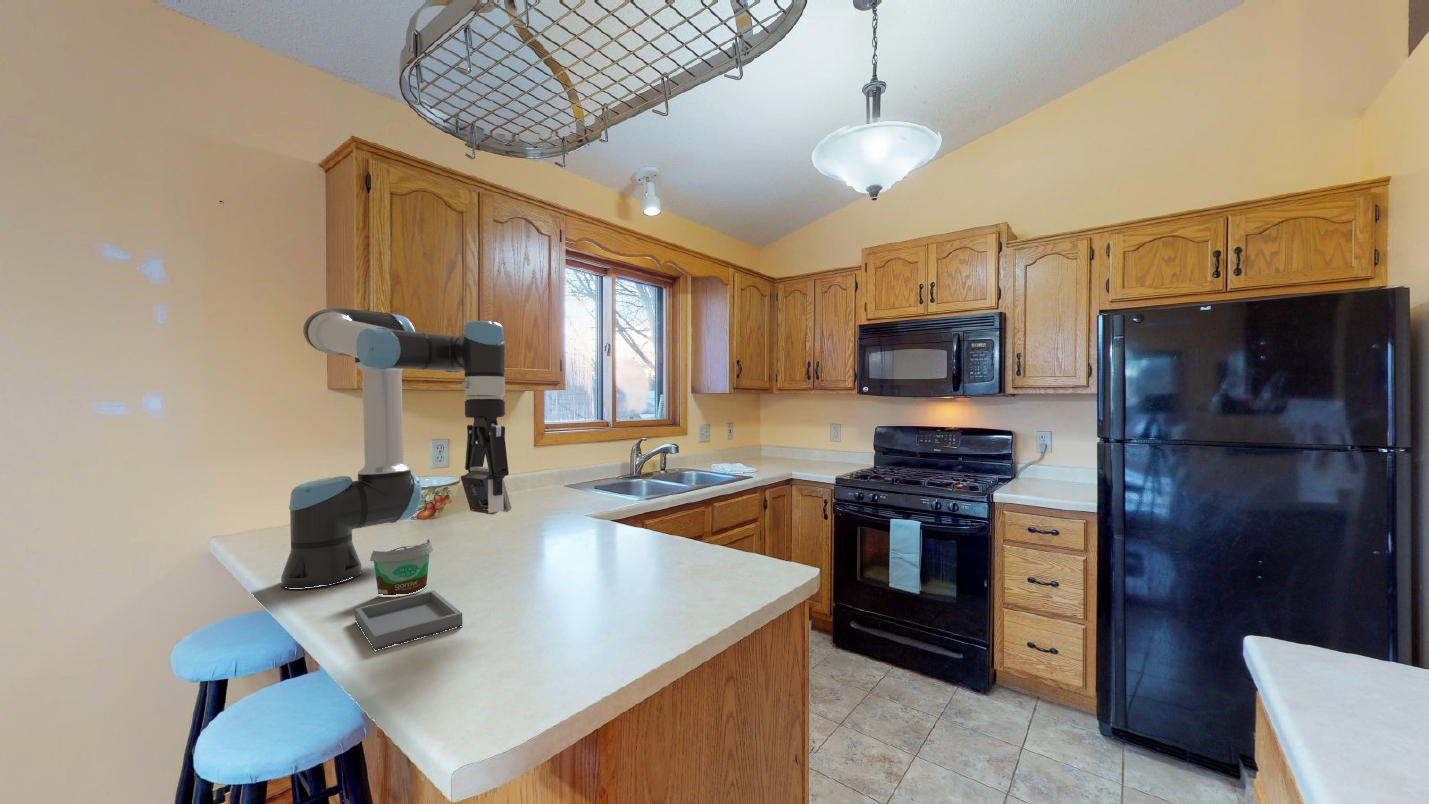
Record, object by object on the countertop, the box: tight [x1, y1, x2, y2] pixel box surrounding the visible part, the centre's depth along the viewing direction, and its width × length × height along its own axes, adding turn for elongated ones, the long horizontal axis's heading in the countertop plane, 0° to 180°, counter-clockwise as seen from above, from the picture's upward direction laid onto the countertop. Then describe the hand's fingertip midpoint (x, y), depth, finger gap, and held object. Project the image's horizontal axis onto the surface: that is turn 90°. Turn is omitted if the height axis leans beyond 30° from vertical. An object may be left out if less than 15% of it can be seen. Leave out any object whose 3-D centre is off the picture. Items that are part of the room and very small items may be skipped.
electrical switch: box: [460, 466, 512, 516], centre depth 107 cm, size 9×5×9 cm, turn 57°
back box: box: [354, 589, 463, 650], centre depth 98 cm, size 17×14×2 cm
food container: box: [369, 538, 434, 595], centre depth 115 cm, size 12×6×10 cm, turn 143°
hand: (486, 508), depth 108 cm, fingers closed on electrical switch, 9 cm apart
